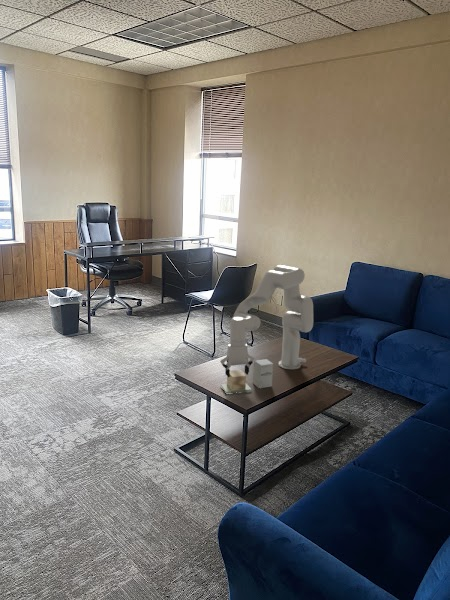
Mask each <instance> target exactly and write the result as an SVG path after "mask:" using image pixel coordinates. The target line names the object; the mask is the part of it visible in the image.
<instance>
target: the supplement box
mask: <svg viewBox="0 0 450 600" xmlns="http://www.w3.org/2000/svg"><path fill="white" fill-rule="evenodd" d="M273 373H274V363H273V362H272V361H270V360H269V359H268V358H265V359H257V360H255V359H254V361H253V373H252V374H253V377H252V384H254V385H255V386H256V387H257V388H258V389H259V388H260V389H264V388H270V387H272V386H273Z"/></svg>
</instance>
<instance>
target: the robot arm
mask: <svg viewBox="0 0 450 600" xmlns="http://www.w3.org/2000/svg"><path fill="white" fill-rule="evenodd" d="M305 278H306V275H305V271H304V270H303V269H302V268H300V267H296V266H295V267H294V266H291V265H289V266H288V265H283V264H278V265H275V266H274V268H273V269H271V270H267V271H266V272H265V273H264V275H263V277H262V279H261V280H260V282H259V284H258V286H257V288H256V289H255V291H254V292H253V294H251V295H249V296H247V297H246V298H245V299H244V300H242V301H241V302H240V303H239V304H238V306H237V308H236V309H235V312H234V314H233V316H232V318H231V319H230V322H229V323H230V326H229V327H230V334H229V335H230V336H229V338H230V339H229V344H228V345H227V350H226V357H224V358H222V359H220V363H221V365H222V366H223V368H225V376H226V377H227V376H228V377H230V371H231V370H230V368H231V367H234V366H242V365H244V374H245V375H246V376H249V373H250V367H251V365H252V364H254V361H255V357H254V356H252V355H249V351H248V345H247V343H249V338H247V332H250V331H251V332H252V331H256V330H258V329H259V327H260V326H261V323H262V322H261V319H260V318H259V317H258V316H257V315H254V314H251V313H248V312H249V310H250V309H253V308H254V307H256V306H261V305H264V304H268V303H269V302H270V301H271V299H272V297H273V295H274V294H275V291H276V290H277V289H280V290H283V303H284V307H285V309H287V310H288V311H285V312H284V313H283V315H282V317H281V319H282V320H281V323H282V345H281V347H282V348H281V359H280V360H279V361H278V366H279V367H280V368H282V369H285V370H298V369H300V368H301V366H302V364H301V363H306V362H307V358H302V357H299V355H300V344H301V333H300V332H302V333H309V332H311V330H312V329H313V327H314V303H313V299H312V298H311V297H309V296H308V295H304V294H301V293H300V292H301V291H300V289H301V288H300V285H301V284H302V283H303V282H304V279H305ZM225 362H226V363H225Z"/></svg>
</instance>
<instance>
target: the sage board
mask: <svg viewBox="0 0 450 600" xmlns="http://www.w3.org/2000/svg"><path fill="white" fill-rule="evenodd" d="M221 386H222V388H223V389H224V391H225V392H226V393H236V392H237V393H238V392H247V393H252V388H251V387H250V386H249V384H248V383H246V389H243V390H234V391H232V390H231V389H230V387H229V386H228V385H227V383H221V384H220V387H221ZM222 388H221V389H222ZM224 391H223V392H224ZM238 394H239V393H238Z"/></svg>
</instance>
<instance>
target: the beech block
mask: <svg viewBox="0 0 450 600" xmlns="http://www.w3.org/2000/svg"><path fill="white" fill-rule="evenodd" d="M226 379H227V380H226V384H227V385H228V386H229V387H230V389H231V390H232V391H234V390H243V389H246V384H247V375H246V373H245V372H243V371H242V370H241V369H237V370H235V369H234V370H230V377H228V376H227V375H226Z"/></svg>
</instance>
